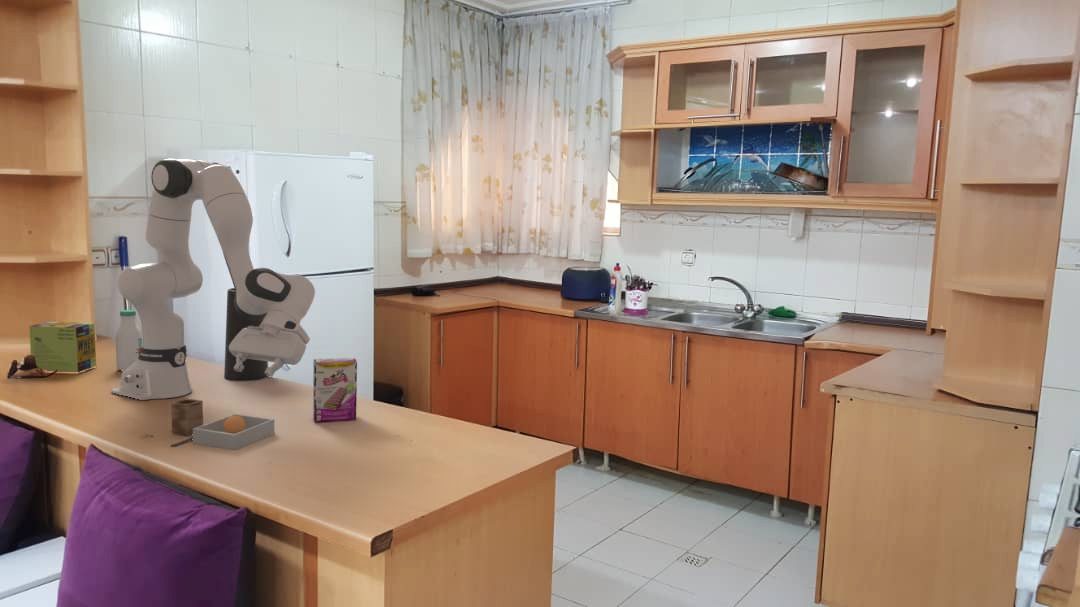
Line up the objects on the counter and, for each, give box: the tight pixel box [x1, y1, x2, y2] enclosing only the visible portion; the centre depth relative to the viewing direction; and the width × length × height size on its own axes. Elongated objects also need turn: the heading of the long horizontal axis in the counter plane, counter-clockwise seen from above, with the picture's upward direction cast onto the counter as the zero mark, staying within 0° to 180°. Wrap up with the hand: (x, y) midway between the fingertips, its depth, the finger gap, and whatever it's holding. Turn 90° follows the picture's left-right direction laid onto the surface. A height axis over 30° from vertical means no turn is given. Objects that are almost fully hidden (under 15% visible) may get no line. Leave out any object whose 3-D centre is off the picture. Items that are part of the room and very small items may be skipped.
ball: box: [224, 416, 246, 434], centre depth 185 cm, size 5×5×5 cm
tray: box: [192, 413, 275, 451], centre depth 185 cm, size 12×14×4 cm
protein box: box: [29, 321, 97, 372], centre depth 248 cm, size 10×15×16 cm
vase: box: [223, 287, 269, 382], centre depth 247 cm, size 14×14×29 cm
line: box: [170, 436, 193, 447], centre depth 188 cm, size 1×22×1 cm, turn 161°
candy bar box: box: [312, 357, 358, 423], centre depth 203 cm, size 11×5×16 cm, turn 110°
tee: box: [170, 398, 204, 437], centre depth 188 cm, size 5×5×8 cm
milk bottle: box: [115, 309, 143, 371], centre depth 252 cm, size 8×8×20 cm
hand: (252, 372), depth 191 cm, fingers open, 8 cm apart
